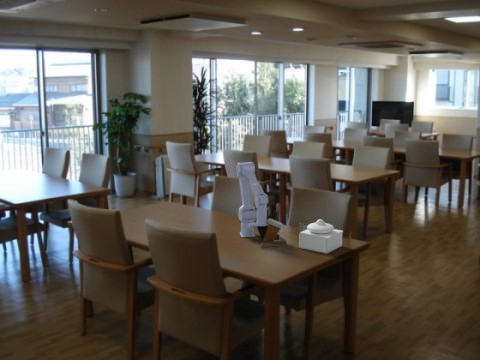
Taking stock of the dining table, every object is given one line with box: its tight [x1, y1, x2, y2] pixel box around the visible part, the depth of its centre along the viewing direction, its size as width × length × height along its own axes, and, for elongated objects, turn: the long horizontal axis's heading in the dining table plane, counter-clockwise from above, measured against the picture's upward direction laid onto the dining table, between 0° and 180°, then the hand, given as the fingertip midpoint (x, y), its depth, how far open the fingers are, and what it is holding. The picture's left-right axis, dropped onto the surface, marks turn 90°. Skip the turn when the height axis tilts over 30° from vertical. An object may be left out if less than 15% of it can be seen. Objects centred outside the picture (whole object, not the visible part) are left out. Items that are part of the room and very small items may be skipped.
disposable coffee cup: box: [263, 217, 283, 242], centre depth 313 cm, size 10×10×12 cm
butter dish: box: [298, 218, 344, 254], centre depth 303 cm, size 18×18×16 cm
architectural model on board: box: [297, 222, 310, 236], centre depth 325 cm, size 11×3×10 cm, turn 40°
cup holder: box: [255, 233, 287, 248], centre depth 314 cm, size 15×14×2 cm
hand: (261, 238), depth 312 cm, fingers closed
